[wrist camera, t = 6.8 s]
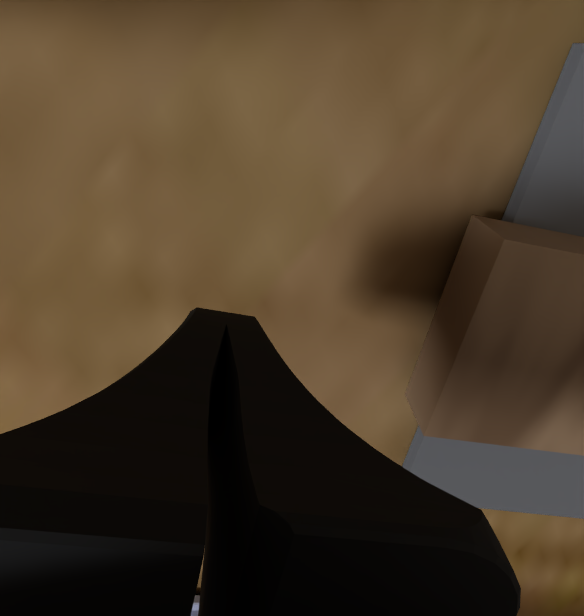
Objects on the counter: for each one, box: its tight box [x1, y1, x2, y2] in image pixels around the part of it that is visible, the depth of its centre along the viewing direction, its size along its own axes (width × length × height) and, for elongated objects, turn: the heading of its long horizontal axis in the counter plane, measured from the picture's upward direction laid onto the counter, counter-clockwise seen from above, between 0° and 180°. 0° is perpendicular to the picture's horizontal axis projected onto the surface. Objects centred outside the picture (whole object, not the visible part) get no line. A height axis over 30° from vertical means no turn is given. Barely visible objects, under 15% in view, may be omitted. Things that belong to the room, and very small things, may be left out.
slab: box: [405, 215, 584, 456], centre depth 15 cm, size 6×2×7 cm
